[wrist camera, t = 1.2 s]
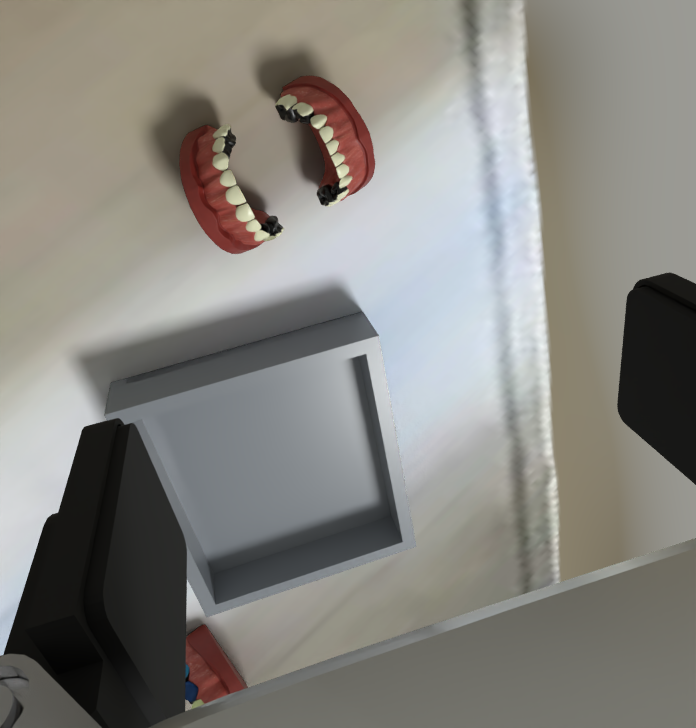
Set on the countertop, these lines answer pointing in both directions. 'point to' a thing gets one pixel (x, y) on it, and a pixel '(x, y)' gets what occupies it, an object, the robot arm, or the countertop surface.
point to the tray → (275, 459)
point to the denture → (214, 182)
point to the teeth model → (208, 669)
